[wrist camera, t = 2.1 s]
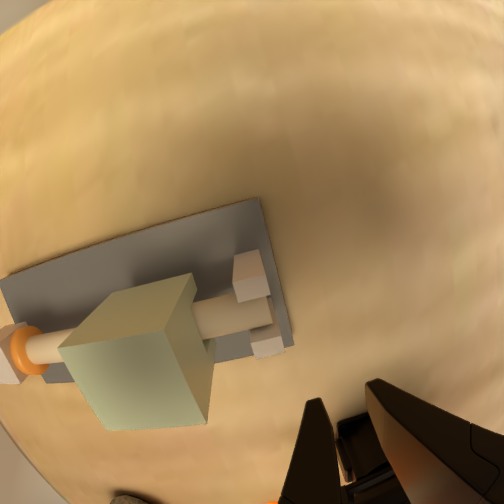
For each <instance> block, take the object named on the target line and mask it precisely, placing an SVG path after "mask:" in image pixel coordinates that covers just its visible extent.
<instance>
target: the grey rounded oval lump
mask: <svg viewBox="0 0 504 504" xmlns="http://www.w3.org/2000/svg"><path fill="white" fill-rule="evenodd" d="M110 504H148V503H146V502H144V501H142V500H140V499H137V498H134V497H131V496H128V495H122V496H118V497H116V498H114V499H113V500H112V501H111V503H110Z"/></svg>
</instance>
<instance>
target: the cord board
mask: <svg viewBox="0 0 504 504" xmlns="http://www.w3.org/2000/svg"><path fill="white" fill-rule="evenodd" d="M188 273H192V275H193V278H194V281H195V284H196V287H197V292H196V295H195V297H194V300H193V303H192V305H191V308H190V309H191V311H192V314H193V317H194V320H195V323H196V325H197V328H198V331H199V333H200V336H201V339H202V340H204V339H209V338H213V337H214V339H215V342H216V345H217V346H216V354H215V362H214V364H215V363H220V362H224V361H229V360H234V359H239V358H243V357H248V356H252V355H254V356H255V359H260V358H265V357H269V356H273V355H277V354H281V353H285V349H284V348H285V347H289V346H293V345H294V341H293V336H292V332H291V328H290V323H289V319H288V315H287V311H286V306H285V302H284V298H283V294H282V289H281V285H280V281H279V277H278V273H277V269H276V265H275V260H274V256H273V252H272V248H271V244H270V240H269V236H268V232H267V228H266V224H265V220H264V216H263V212H262V208H261V204H260V200H259V198H258V197H256V198H252V199H248V200H244V201H240V202H236V203H233V204H229V205H225V206H221V207H218V208H214V209H210V210H207V211H203V212H199V213H196V214H192V215H189V216H185V217H182V218H178V219H175V220H172V221H168V222H165V223H161V224H158V225H155V226H151V227H148V228H145V229H142V230H138V231H135V232H132V233H129V234H126V235H122V236H119V237H116V238H113V239H110V240H107V241H104V242H101V243H98V244H95V245H92V246H89V247H86V248H83V249H80V250H77V251H74V252H71V253H68V254H66V255H63V256H60V257H57V258H54V259H51V260H49V261H46V262H43V263H40V264H38V265H35V266H32V267H30V268H27V269H24V270H22V271H19V272H17V273H14V274H11V275H9V276H7V277H5V278H3V279H1V280H0V288H1V290H2V293H3V296H4V298H5V301H6V303H7V306H8V308H9V311H10V313H11V315H12V318H13V320H14V322H15V324H12V325H8V326H4V327H3V328H2V329H0V384H21V383H22V382H23V381H24V380H25V379H26V378H27V377H28V375H40V374H41V375H42V377H43V379H44V380H45V382H46V384H48V383H69V382H75V381H74V379H73V377H72V376H71V374H70V372H69V370H68V368H67V367H66V365H65V363H64V361H63V359H62V357H61V355H60V353H59V352H58V350H57V347H58V346H59V345H60V344H61V343H62V342H63V341H64V340H65V339H66V338H67V337H68V336H69V335H70V334H71V333H72V332H73V331H74V330H75V329H76V328H77V327H78V326H79V325H80V324H81V323H82V322H83V321H84V320H85V319H86V318H87V317H88V316H89V315H90V314H91V313H92V312H93V311H94V310H95V309H96V308H97V307H98V306H99V305H100V304H101V303H102V302H103V301H104V300H105V299H106V298H107V297H108V296H109V295H110V294H111V293H113V292H117V291H121V290H125V289H129V288H133V287H137V286H141V285H145V284H148V283H152V282H156V281H160V280H164V279H168V278H172V277H176V276H180V275H184V274H188Z"/></svg>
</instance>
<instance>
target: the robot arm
mask: <svg viewBox="0 0 504 504" xmlns="http://www.w3.org/2000/svg"><path fill="white" fill-rule="evenodd" d="M365 399H366V407H367V410H368V413H365V414H362V415H359V416H356V417H353V418H350V419H347V420H344V421H341V422H339V423H338V424H337V433H338V439H336V440H335V438H334V432H333V427H332V424H331V421H330V419H329V416H328V414H327V411H326V409H325V406H324V404H323V401H322V399H321V398H320V397H318V398H315V399H311V400H308V401H307V402H306V404H305V409H304V413H303V417H302V421H301V425H300V429H299V433H298V436H297V440H296V444H295V448H294V451H293V455H292V458H291V462H290V466H289V469H288V472H287V476H286V479H285V482H284V486H283V489H282V492H281V496H280V498H279V501H278V504H504V435H501V434H498V433H495V432H493V431H490V430H488V429H485V428H482V427H480V426H478V425H476V424H473V423H471V424H470V422H469V421H466V420H464V419H462V418H460V417H458V416H455V415H453V414H451V413H449V412H447V411H445V410H443V409H441V408H438V407H436V406H434V405H432V404H430V403H428V402H426V401H424V400H422V399H420V398H418V397H416V396H414V395H412V394H410V393H408V392H406V391H404V390H402V389H400V388H398V387H396V386H394V385H392V384H390V383H388V382H386V381H384V380H382V379H380V378H376V379H374V380H371V381H368V382H366V383H365ZM337 458H338V460H337ZM338 461H339V464H340V467H341V470H342V473H343V476H344V479H345V482H347V483H348V482H352V483H351V484H348V485H346V486H345V485H344V486H341V484H340V476H339V468H338Z"/></svg>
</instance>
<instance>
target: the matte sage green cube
mask: <svg viewBox="0 0 504 504" xmlns="http://www.w3.org/2000/svg"><path fill="white" fill-rule="evenodd" d="M196 292H197V287H196V284H195V281H194V278H193V275H192V273H188V274H184V275H180V276H176V277H172V278H168V279H164V280H160V281H156V282H152V283H148V284H145V285H141V286H137V287H133V288H129V289H125V290H121V291H117V292H113V293H111V294H110V295H109V296H108V297H107V298H106V299H105V300H104V301H103V302H102V303H101V304H100V305H99V306H98V307H97V308H96V309H95V310H94V311H93V312H92V313H91V314H90V315H89V316H88V317H87V318H86V319H85V320H84V321H83V322H82V323H81V324H80V325H79V326H78V327H77V328H76V329H75V330H74V331H73V332H72V333H71V334H70V335H69V336H68V337H67V338H66V339H65V340H64V341H63V342H62V343H61V344H60V345H59V346H58V347H57V350H58V352H59V353H60V355H61V357H62V359H63V361H64V363H65V365H66V367H67V368H68V370H69V372H70V374H71V376H72V377H73V379H74V381H75V382H76V384H77V386H78V388H79V389H80V391H81V392H82V394H83V396H84V397H85V399H86V400H87V402H88V404H89V405H90V407H91V408H92V410H93V411H94V413H95V414H96V416H97V417H98V419H99V420H100V422H101V423H102V424H103V426H104V427H105V429H106V430H143V429H160V428H172V427H183V426H192V425H200V424H207V420H208V411H209V403H210V394H211V386H212V378H213V370H214V362H215V354H216V346H217V345H216V342H215V339H214V337H213V338H209V339H204V340H202V339H201V336H200V333H199V331H198V328H197V325H196V323H195V320H194V317H193V314H192V311H191V309H190V308H191V305H192V303H193V300H194V297H195V295H196Z"/></svg>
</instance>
